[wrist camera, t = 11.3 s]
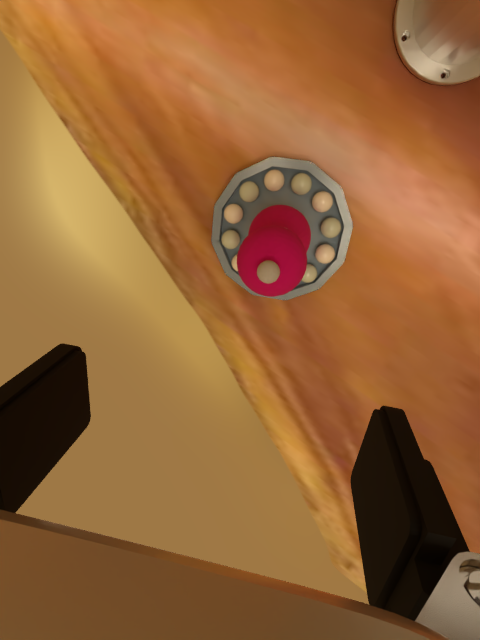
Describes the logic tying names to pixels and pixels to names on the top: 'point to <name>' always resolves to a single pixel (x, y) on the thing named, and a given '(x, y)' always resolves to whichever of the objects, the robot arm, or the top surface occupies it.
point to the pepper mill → (274, 251)
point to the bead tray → (292, 190)
